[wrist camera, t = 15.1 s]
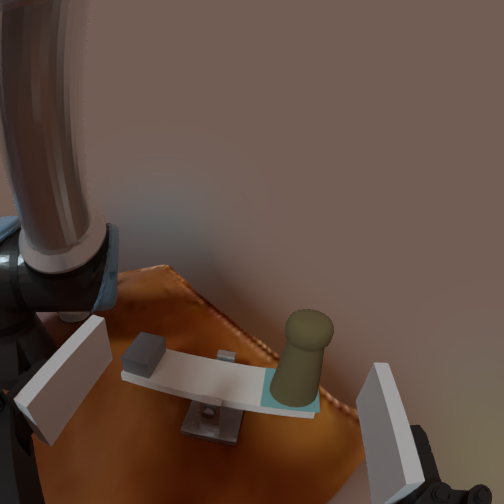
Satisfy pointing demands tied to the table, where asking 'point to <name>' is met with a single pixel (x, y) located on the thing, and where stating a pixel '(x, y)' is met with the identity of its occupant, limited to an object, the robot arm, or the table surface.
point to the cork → (301, 358)
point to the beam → (204, 378)
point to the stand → (213, 415)
